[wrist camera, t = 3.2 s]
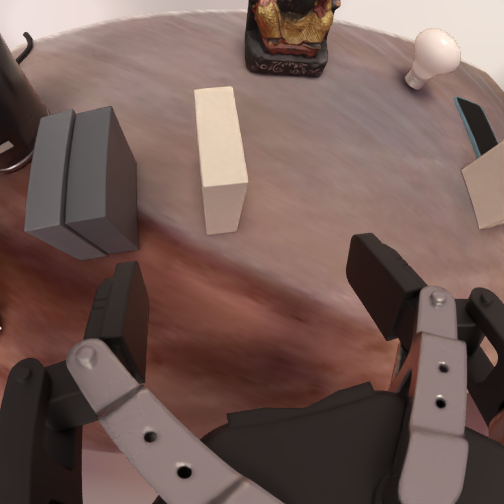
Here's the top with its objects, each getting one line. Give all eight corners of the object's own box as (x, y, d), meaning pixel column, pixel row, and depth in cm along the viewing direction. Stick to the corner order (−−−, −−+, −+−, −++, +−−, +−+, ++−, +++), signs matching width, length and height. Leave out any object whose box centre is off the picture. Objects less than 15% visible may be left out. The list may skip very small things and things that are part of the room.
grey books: (79, 260, 25) (24, 231, 16) (81, 171, 27) (40, 117, 17) (139, 252, 26) (103, 217, 16) (136, 160, 27) (110, 99, 18)
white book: (207, 235, 27) (202, 187, 17) (198, 159, 28) (194, 89, 18) (236, 231, 27) (248, 182, 17) (226, 156, 29) (232, 86, 19)
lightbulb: (407, 66, 36) (441, 18, 25) (435, 97, 35) (476, 52, 24) (383, 73, 34) (419, 19, 24) (414, 107, 34) (458, 56, 23)
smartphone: (481, 105, 36) (513, 186, 33) (477, 108, 37) (509, 188, 34) (453, 94, 35) (488, 180, 32) (450, 98, 36) (484, 184, 33)
